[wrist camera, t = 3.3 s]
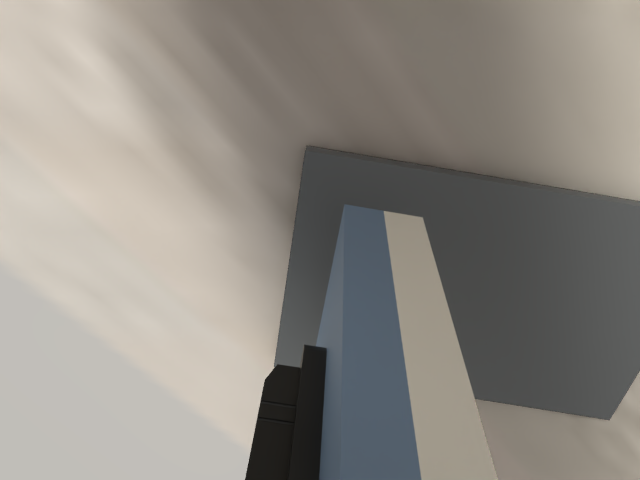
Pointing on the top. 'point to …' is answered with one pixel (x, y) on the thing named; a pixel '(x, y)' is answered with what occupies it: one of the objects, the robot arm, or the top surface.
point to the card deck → (394, 361)
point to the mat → (491, 275)
